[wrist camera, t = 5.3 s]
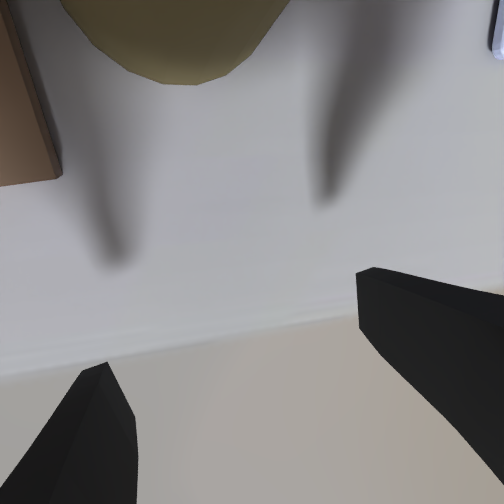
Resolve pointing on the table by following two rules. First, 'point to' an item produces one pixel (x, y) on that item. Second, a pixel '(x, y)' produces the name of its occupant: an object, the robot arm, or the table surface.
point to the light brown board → (21, 116)
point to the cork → (176, 34)
